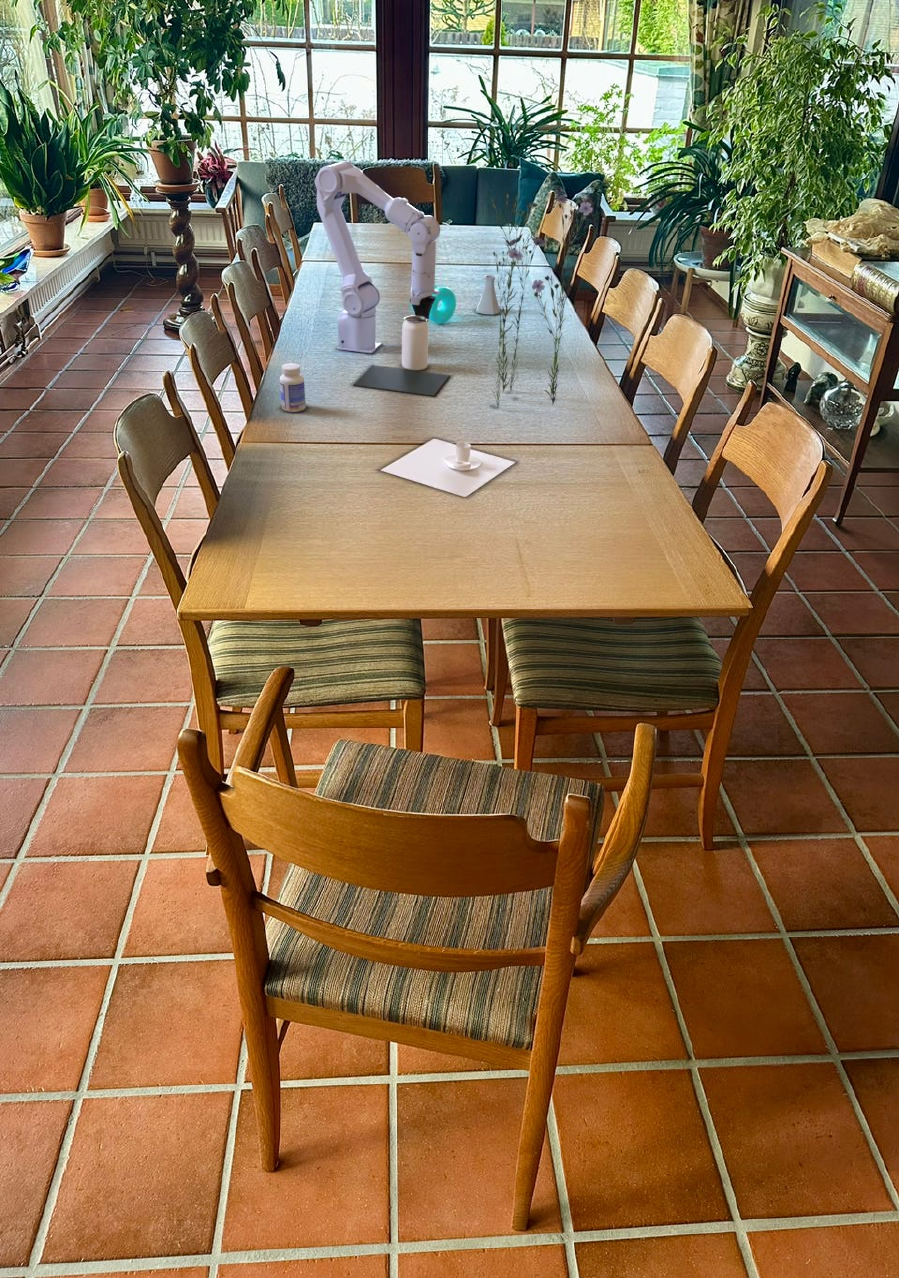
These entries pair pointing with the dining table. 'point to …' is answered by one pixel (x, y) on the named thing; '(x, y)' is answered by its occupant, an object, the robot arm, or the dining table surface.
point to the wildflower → (536, 284)
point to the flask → (488, 298)
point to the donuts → (442, 305)
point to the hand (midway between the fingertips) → (422, 326)
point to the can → (415, 343)
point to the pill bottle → (292, 388)
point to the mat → (402, 380)
